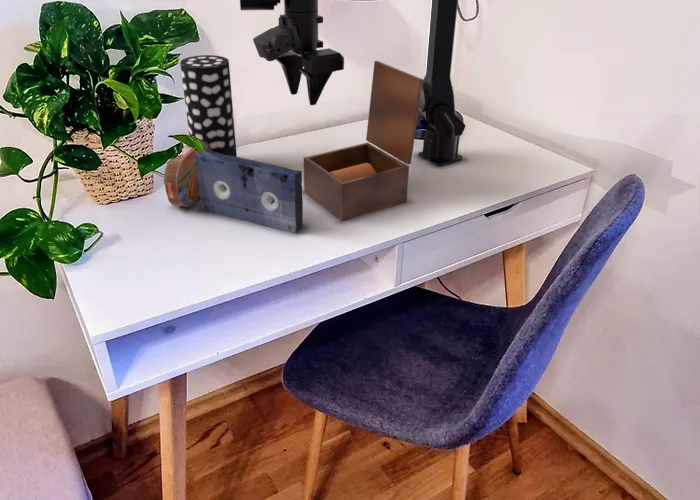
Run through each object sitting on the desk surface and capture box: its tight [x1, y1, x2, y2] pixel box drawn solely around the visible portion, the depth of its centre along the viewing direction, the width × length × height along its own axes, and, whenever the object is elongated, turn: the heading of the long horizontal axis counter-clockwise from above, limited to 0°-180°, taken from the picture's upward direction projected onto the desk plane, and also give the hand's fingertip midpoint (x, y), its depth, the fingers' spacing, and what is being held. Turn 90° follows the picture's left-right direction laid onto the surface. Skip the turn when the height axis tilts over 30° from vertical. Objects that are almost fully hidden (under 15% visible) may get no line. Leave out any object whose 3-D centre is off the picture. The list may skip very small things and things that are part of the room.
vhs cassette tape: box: [195, 150, 304, 234], centre depth 100 cm, size 18×3×10 cm, turn 64°
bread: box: [329, 163, 376, 182], centre depth 108 cm, size 8×5×5 cm
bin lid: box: [365, 60, 424, 165], centre depth 106 cm, size 14×12×1 cm
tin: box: [163, 141, 212, 208], centre depth 107 cm, size 15×3×8 cm, turn 168°
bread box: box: [303, 142, 410, 222], centre depth 108 cm, size 13×12×7 cm
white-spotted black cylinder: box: [179, 54, 238, 157], centre depth 114 cm, size 8×8×20 cm
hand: (303, 99), depth 114 cm, fingers open, 7 cm apart
